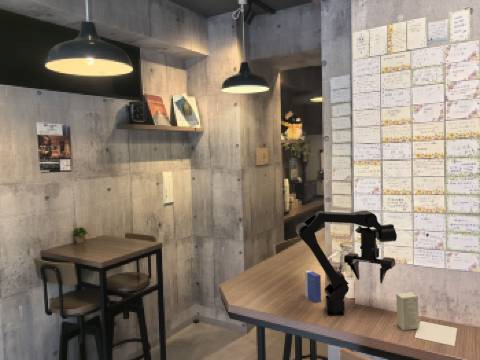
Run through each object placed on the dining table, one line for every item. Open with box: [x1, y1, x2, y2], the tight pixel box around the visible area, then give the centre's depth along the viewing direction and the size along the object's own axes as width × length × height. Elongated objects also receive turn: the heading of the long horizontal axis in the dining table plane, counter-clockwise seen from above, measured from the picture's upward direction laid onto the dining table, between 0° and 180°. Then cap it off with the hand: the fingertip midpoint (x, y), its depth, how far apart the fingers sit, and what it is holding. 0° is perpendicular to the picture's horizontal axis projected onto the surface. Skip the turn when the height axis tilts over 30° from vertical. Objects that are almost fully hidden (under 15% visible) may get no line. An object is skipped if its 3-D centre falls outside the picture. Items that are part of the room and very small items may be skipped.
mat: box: [414, 320, 458, 347], centre depth 137 cm, size 12×14×1 cm
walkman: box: [304, 270, 322, 304], centre depth 169 cm, size 8×3×12 cm, turn 25°
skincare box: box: [395, 291, 420, 331], centre depth 141 cm, size 6×4×12 cm
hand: (369, 281), depth 156 cm, fingers open, 9 cm apart
